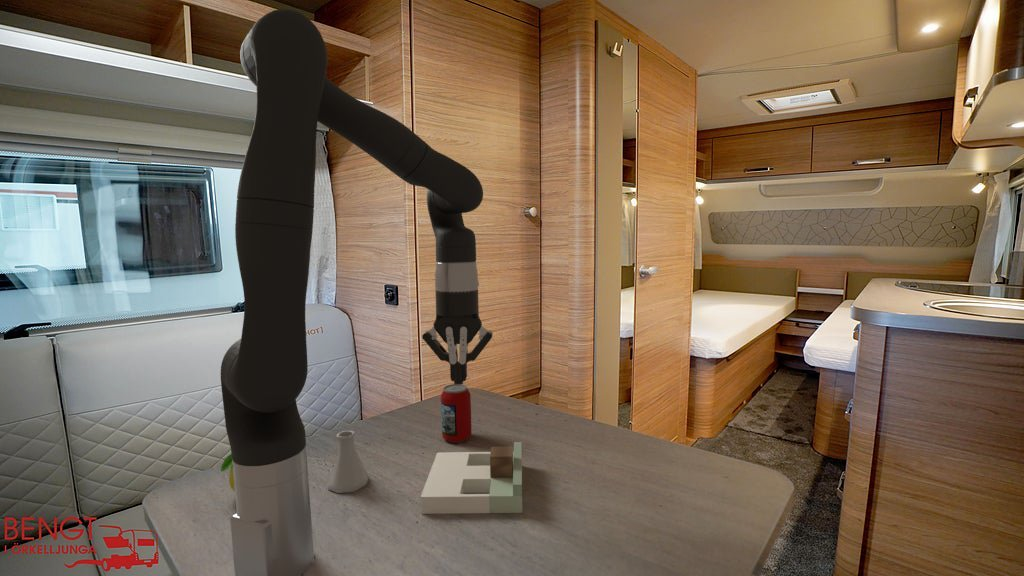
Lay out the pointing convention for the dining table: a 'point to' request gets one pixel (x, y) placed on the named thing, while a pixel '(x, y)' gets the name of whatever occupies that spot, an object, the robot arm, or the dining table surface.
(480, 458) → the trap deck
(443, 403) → the beverage can
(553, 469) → the dining table surface
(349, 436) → the flask
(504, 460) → the walnut block
